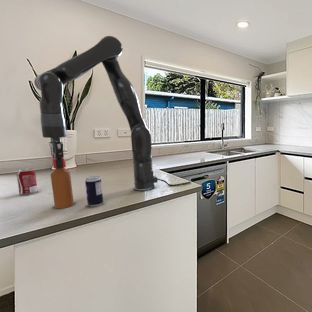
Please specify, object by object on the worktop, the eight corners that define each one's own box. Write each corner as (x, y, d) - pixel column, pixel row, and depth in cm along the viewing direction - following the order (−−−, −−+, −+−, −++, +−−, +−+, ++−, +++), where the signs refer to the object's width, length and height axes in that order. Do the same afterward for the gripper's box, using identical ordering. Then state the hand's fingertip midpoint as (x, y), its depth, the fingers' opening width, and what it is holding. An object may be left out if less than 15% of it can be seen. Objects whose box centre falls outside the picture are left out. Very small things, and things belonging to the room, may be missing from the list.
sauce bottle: (74, 202, 98) (69, 158, 95) (72, 206, 92) (67, 160, 90) (56, 204, 95) (51, 159, 92) (53, 209, 89) (46, 162, 87)
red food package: (41, 192, 112) (38, 169, 111) (25, 196, 106) (21, 171, 104) (32, 190, 115) (29, 168, 113) (16, 194, 108) (12, 170, 107)
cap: (53, 168, 89) (52, 159, 88) (53, 167, 92) (52, 158, 91) (66, 167, 91) (65, 158, 91) (65, 166, 94) (64, 157, 94)
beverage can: (99, 201, 99) (97, 175, 97) (105, 204, 95) (103, 176, 94) (85, 205, 94) (82, 177, 92) (91, 208, 91) (88, 179, 89)
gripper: (69, 125, 87) (73, 168, 89) (61, 125, 96) (66, 164, 99) (43, 125, 81) (49, 171, 84) (38, 125, 91) (44, 166, 93)
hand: (58, 167), depth 91 cm, fingers closed on cap, 4 cm apart
